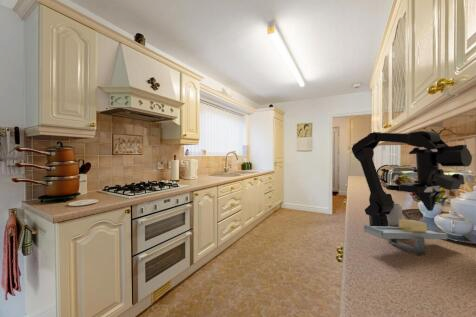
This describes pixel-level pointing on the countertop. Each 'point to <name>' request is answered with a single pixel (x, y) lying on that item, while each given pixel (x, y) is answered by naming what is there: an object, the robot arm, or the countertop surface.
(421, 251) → the stand
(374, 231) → the beam
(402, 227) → the pale yellow block
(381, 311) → the countertop surface
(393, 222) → the cup
